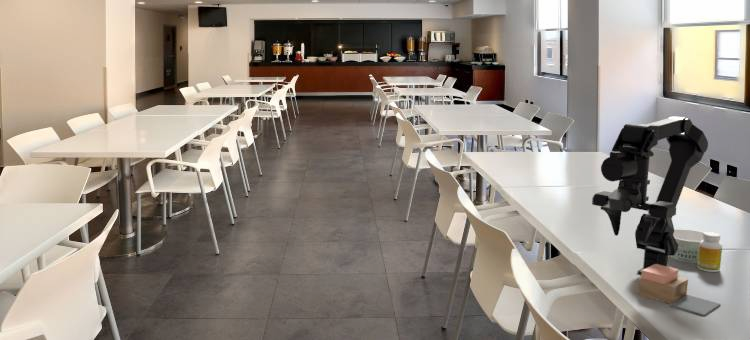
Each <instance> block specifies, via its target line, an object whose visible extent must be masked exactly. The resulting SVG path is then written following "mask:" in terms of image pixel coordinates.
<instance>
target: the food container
mask: <svg viewBox="0 0 750 340" xmlns="http://www.w3.org/2000/svg"><path fill="white" fill-rule="evenodd" d="M703 234H704V231H700V230H695V229H685V228H684V229H683V228H676V229H675V228H674V234H673V236H674V238H675V240H676V242H677V243H678V250H677V253H675V255H674V256H671V255H670V256H669V257H671V259H673V260H677V261H680V262H684V263H685V262H686V263H694V264H697V263H698V254H699V244H700V242H701V241H702V240H704V239H703Z"/></svg>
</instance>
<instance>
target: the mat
mask: <svg viewBox="0 0 750 340" xmlns="http://www.w3.org/2000/svg"><path fill="white" fill-rule="evenodd" d="M669 307H672V308H675V309H678V310H682V311H684V312H689V313H692V314H695V315H698V316H702V317H705V316H707V315H708V314H710V313H711V312H713V311H714V310H716V309H717V308H719V307H721V303H719V302H716V301H711V300H708V299H704V298H700V297H697V296H694V295H690V294H687V295H686V296H684V297H682V298H680V299H679V300H677V301H675V302H674V303H672V304H669Z"/></svg>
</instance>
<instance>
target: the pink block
mask: <svg viewBox="0 0 750 340" xmlns="http://www.w3.org/2000/svg"><path fill="white" fill-rule="evenodd" d="M678 275H679V269H678V268H674V267H670V266H668V265H667V266H663V265H659V264H654V265H652V266H650V267H648V268H646V269H644V270H642V274H641V277H640V278H642V279H646V280H650V281H653V282H657V283H661V284H666V283H668V282H670V281H672V280H674V279H675V278H677V277H679V276H678Z"/></svg>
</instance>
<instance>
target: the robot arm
mask: <svg viewBox="0 0 750 340" xmlns="http://www.w3.org/2000/svg"><path fill="white" fill-rule="evenodd" d="M664 139H666V142H667V143H668V146H669V148H668V152H669V156H670V163H669V166H668V169H667V171H666V174H665V177H664V180H663V182H662V185H661V188H660V190H659V191H658V192H659V193H658V195H657V198H656V201H655V202H653V203H650V202H649V196H648V195H647V193H648V185H650V183H651V180H650V179H649V170H650V169H649V168H650V157H654V152H653V151H652V149H653V148H655V147H656V146H657V145H658V142H659V141H661V140H664ZM708 147H709V141H708V139H707V137H706V135H705V133H704V131H703V130H702V129H700V128H699V127H697V126H696V125H694V124H693V122H692V120H691V118H688V117H685V116H674V115H673V116H669V117H667V118H664V119H661V120H657V121H654V122H649V123H635V122H631V123H630V122H627V123H626V124H624V125H623V127H622V128H621V130H620V132H619V134H618V136H617V138H616V140H615V142H614V145H613V147H612V148H611V151H610V152H609V157H607V158H605V159H604V160H603V161H602V163H601V165H600V173H601V175H602V177H603V178H604V179H606V180H607V181H609V182H617V181H618V186H617V188H616V189H614V190H613V191H605V190H604V191H599V192H597V193H594V194H593V196H592V198H591V204H592V206H597V207H599V208H600V210H601V211H604V212H605V213H606V214H607V216H608V218H609V221H610V224H611V228H612V231H613V234H614V236H619V233H620V228H621V220H622V213H628V212H629V211H630V210H631V209H635V210H636V209H637V210H640V211H641V210H642V211H646V212H647V213H643V214H642V215H641V217H640V219H639V222H638V224H637V226H636V229H635V232H634V236H635V237H634V238H635V243H636V244H635V245H636V249H639V250H643V251H644V253H643V264H642V266H643V267H642V268H640V269H637V270H636V271H637V274H640V275H642V270H644V269H646V268H648V267H650V266H652V265H654V264H659V265H663V266H667V267H668V261H669V257H670V255H671V256H674V255H675V253H677V250H678V243H677V242H676V240H675V238H674V236H673V234H674V229H675V227H674V223H673V217H674V216H676V215H677V205H678V202H679V200H680V197H681V195H682V192H683V189H684V187H685V183H686V181H687V179H688V175H689V173H690V171H691V169H692V168H693V167H694V166H695V165H696V164H698V163H699V162H701V160H702V159H703V156H704V155H705V153H706V151H707V150H708Z"/></svg>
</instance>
